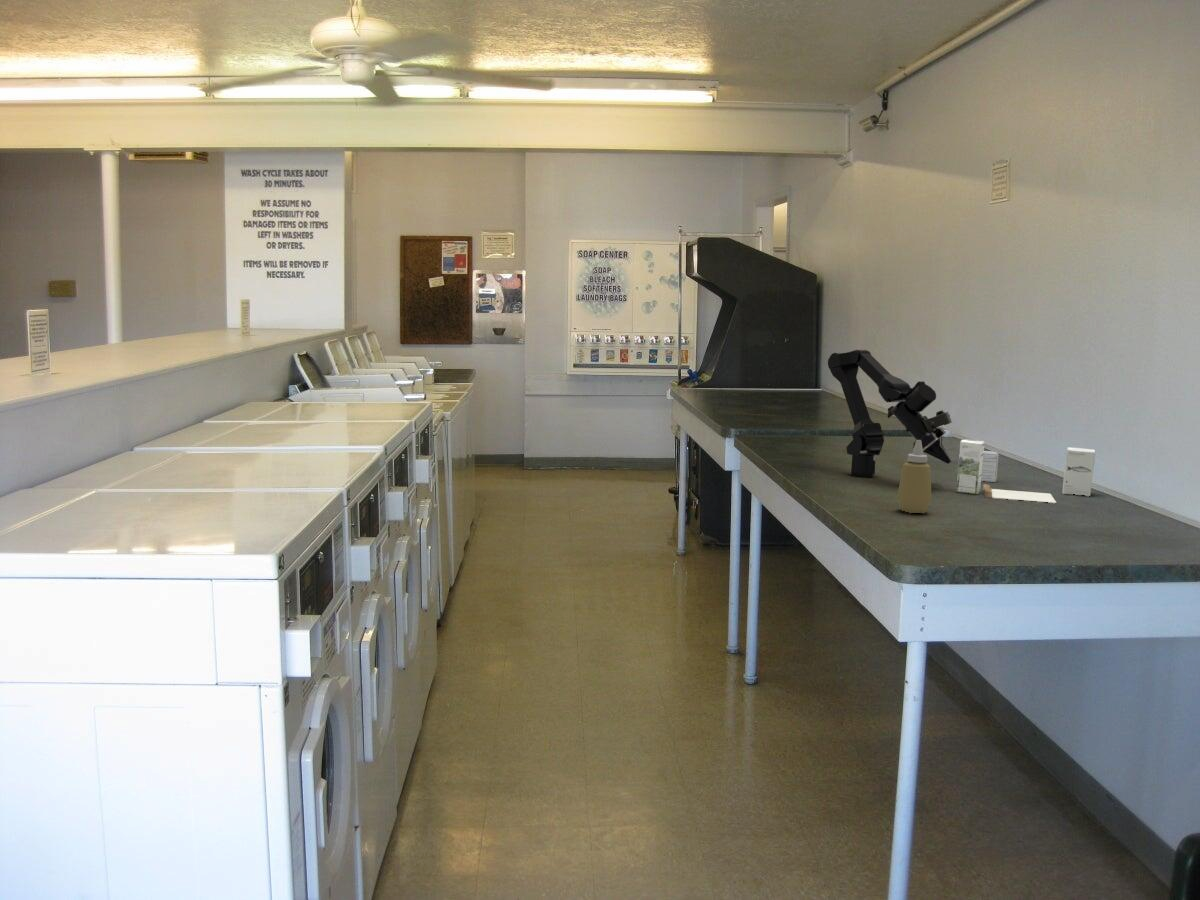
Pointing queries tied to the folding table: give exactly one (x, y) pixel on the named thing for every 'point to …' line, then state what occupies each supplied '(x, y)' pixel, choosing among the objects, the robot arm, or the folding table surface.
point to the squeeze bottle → (915, 482)
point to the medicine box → (989, 466)
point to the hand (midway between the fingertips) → (949, 462)
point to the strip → (987, 490)
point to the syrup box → (970, 466)
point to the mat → (1022, 496)
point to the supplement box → (1078, 471)
